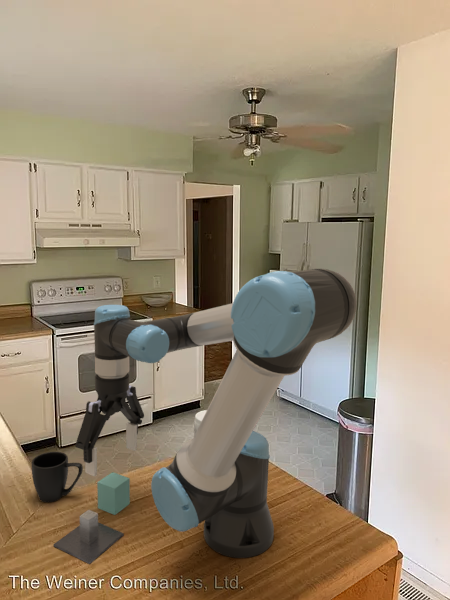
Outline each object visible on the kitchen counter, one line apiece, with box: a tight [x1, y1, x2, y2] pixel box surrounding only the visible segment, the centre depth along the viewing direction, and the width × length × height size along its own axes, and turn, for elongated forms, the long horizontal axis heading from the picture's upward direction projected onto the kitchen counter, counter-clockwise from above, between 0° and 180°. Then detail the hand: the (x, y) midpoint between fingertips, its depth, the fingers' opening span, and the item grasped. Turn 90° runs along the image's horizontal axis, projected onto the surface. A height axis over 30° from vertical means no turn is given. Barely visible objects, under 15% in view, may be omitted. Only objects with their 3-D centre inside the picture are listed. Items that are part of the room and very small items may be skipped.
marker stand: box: [53, 509, 125, 565], centre depth 98 cm, size 10×10×6 cm
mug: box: [31, 451, 84, 503], centre depth 113 cm, size 8×12×10 cm
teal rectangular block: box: [96, 471, 131, 516], centre depth 110 cm, size 5×5×7 cm
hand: (112, 461), depth 109 cm, fingers open, 13 cm apart
